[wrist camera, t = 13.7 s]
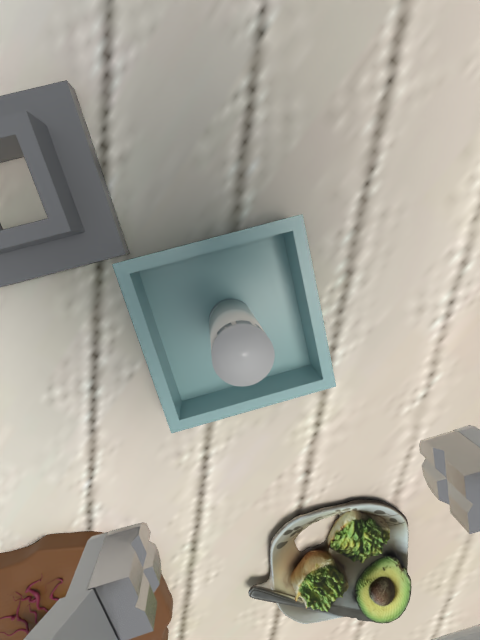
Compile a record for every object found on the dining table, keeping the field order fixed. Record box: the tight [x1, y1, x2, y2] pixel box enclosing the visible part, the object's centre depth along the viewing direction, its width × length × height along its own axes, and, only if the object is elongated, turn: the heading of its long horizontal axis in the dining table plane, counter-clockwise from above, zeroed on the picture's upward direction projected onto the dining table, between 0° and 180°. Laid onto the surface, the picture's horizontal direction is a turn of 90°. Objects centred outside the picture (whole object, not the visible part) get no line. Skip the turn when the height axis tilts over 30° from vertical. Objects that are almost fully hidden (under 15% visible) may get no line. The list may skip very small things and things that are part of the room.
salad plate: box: [249, 499, 411, 624], centre depth 38 cm, size 19×18×5 cm
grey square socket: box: [0, 80, 129, 287], centre depth 25 cm, size 13×13×4 cm
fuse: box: [209, 298, 275, 387], centre depth 26 cm, size 4×4×10 cm
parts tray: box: [112, 214, 336, 433], centre depth 29 cm, size 15×15×4 cm
